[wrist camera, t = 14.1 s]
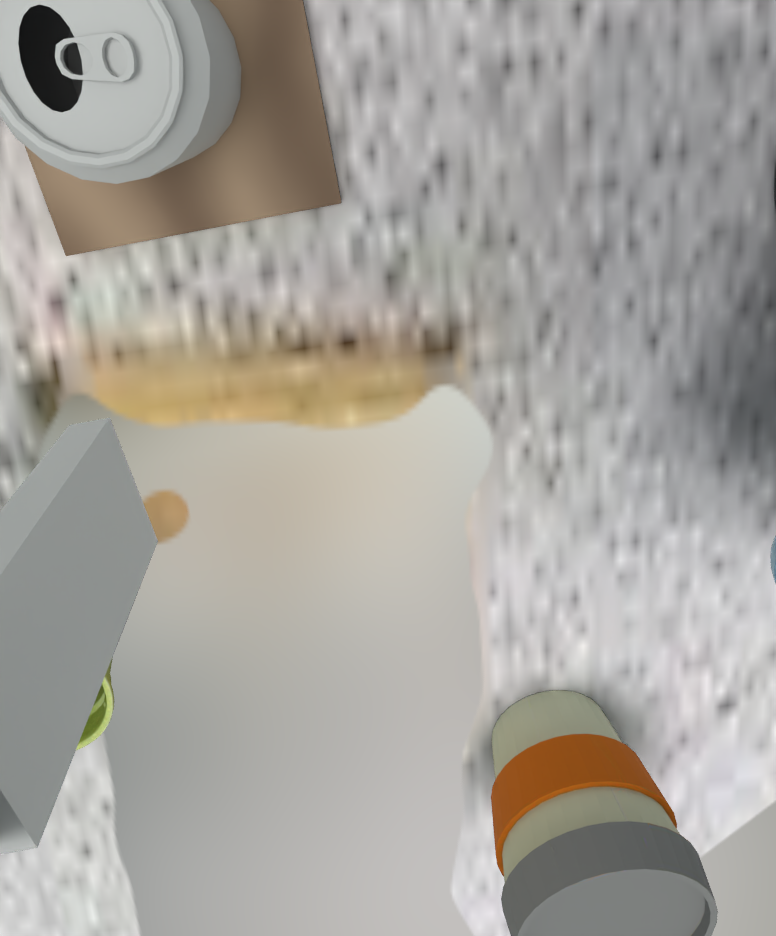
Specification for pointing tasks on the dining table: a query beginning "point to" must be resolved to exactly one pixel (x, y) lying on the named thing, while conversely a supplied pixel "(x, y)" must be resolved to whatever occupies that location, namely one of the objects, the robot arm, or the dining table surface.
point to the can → (116, 83)
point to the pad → (220, 150)
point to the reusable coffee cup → (587, 830)
